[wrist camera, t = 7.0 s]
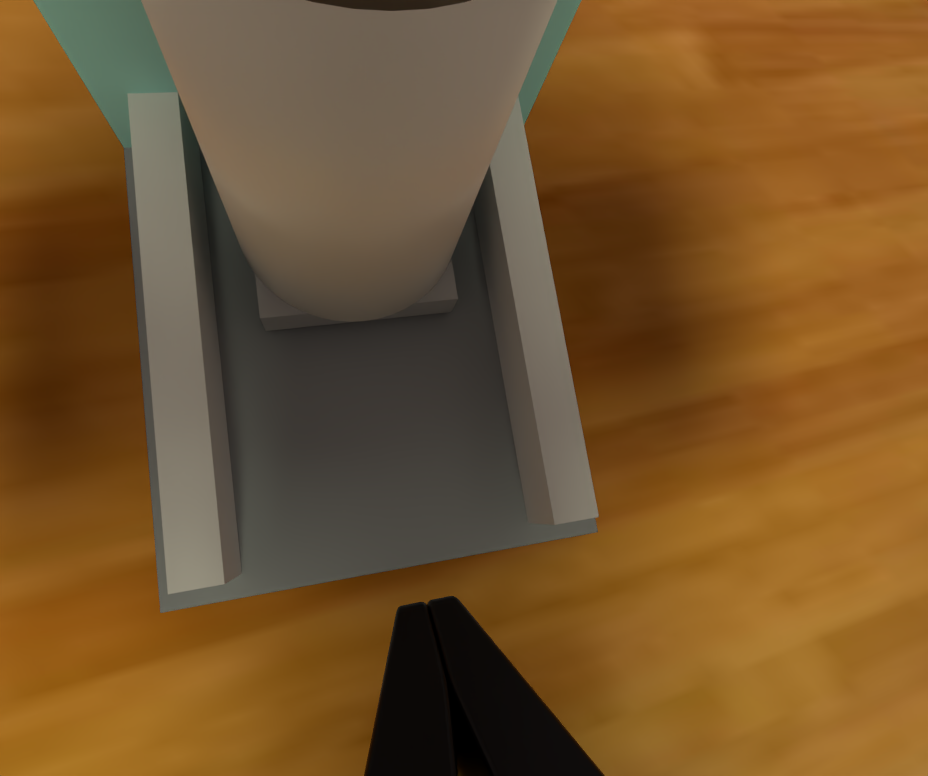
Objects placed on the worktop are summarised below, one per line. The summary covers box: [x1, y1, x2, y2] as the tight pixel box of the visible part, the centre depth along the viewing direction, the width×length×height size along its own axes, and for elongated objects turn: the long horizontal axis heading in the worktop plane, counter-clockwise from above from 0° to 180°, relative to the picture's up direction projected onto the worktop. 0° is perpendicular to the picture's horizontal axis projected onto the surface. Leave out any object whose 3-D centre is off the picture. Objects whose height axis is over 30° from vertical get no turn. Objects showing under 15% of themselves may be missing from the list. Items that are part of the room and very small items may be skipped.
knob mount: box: [33, 0, 599, 613], centre depth 14 cm, size 13×10×6 cm
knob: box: [141, 0, 557, 331], centre depth 10 cm, size 5×5×11 cm
